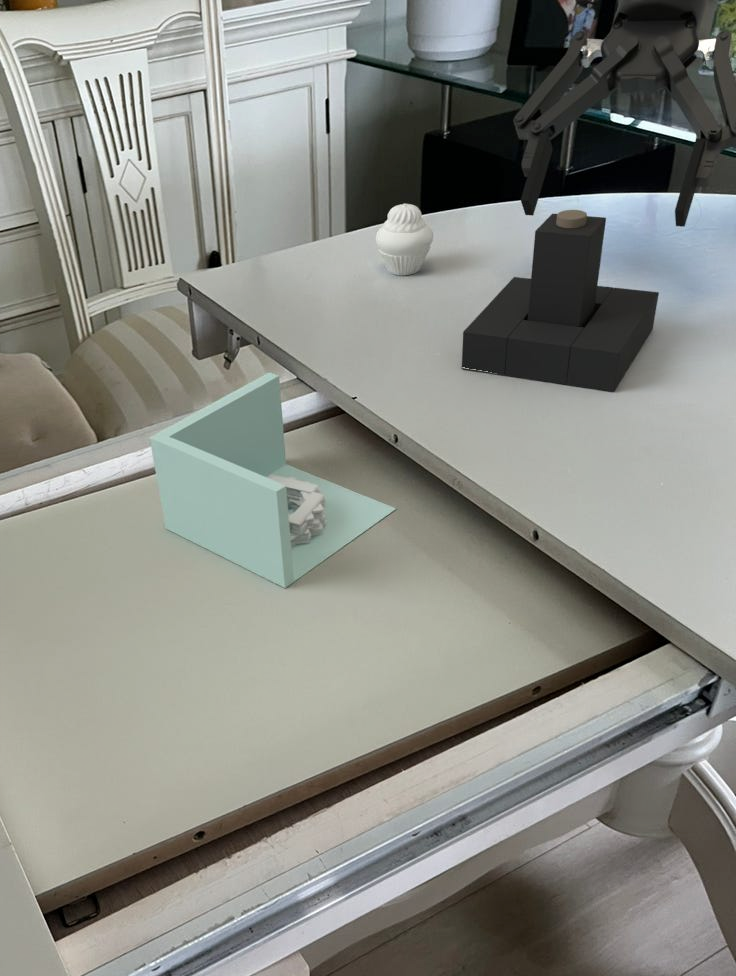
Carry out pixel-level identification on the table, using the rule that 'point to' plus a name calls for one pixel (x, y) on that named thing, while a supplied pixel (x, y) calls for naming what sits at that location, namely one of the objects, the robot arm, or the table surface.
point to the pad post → (566, 268)
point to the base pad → (560, 338)
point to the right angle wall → (253, 488)
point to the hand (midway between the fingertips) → (600, 213)
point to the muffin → (404, 240)
